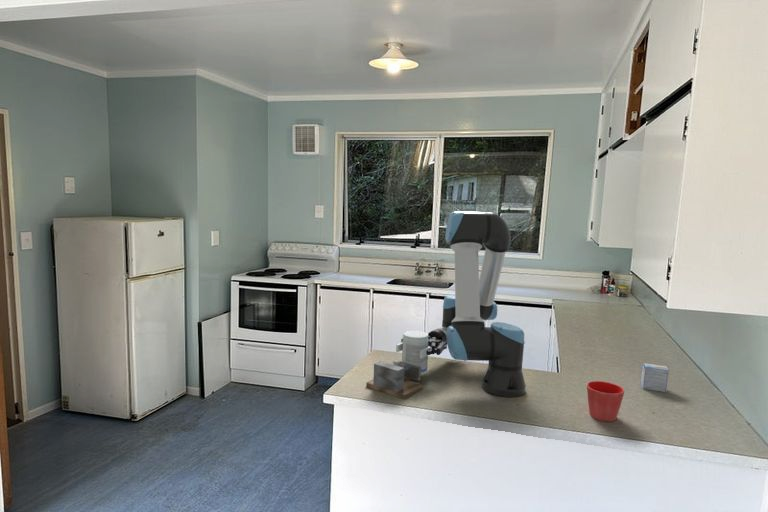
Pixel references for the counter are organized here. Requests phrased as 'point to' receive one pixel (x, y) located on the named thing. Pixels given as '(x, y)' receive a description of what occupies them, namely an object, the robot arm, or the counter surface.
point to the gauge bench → (403, 393)
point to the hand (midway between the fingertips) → (408, 351)
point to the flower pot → (604, 400)
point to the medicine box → (654, 377)
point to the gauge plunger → (409, 370)
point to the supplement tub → (415, 349)
